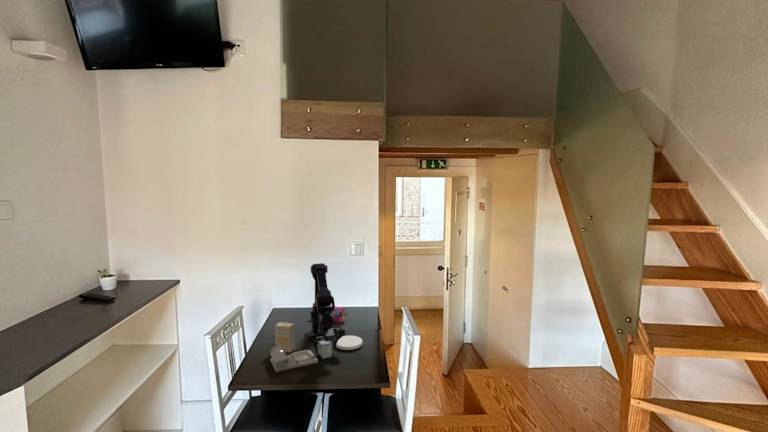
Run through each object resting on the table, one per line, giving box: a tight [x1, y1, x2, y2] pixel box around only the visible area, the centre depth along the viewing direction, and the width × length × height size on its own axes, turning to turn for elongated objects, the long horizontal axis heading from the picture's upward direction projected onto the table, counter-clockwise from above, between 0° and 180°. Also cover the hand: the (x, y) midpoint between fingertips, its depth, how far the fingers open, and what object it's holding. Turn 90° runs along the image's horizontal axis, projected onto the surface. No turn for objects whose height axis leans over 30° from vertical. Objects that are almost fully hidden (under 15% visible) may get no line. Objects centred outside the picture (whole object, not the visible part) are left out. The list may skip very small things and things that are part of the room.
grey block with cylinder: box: [318, 340, 333, 359], centre depth 181 cm, size 4×8×6 cm, turn 28°
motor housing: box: [269, 345, 319, 373], centre depth 175 cm, size 19×12×7 cm, turn 118°
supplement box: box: [274, 321, 296, 354], centre depth 187 cm, size 8×5×13 cm, turn 71°
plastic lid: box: [335, 335, 363, 351], centre depth 193 cm, size 14×14×2 cm
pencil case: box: [309, 302, 348, 323], centre depth 228 cm, size 22×9×9 cm, turn 64°
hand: (325, 352), depth 182 cm, fingers open, 8 cm apart
